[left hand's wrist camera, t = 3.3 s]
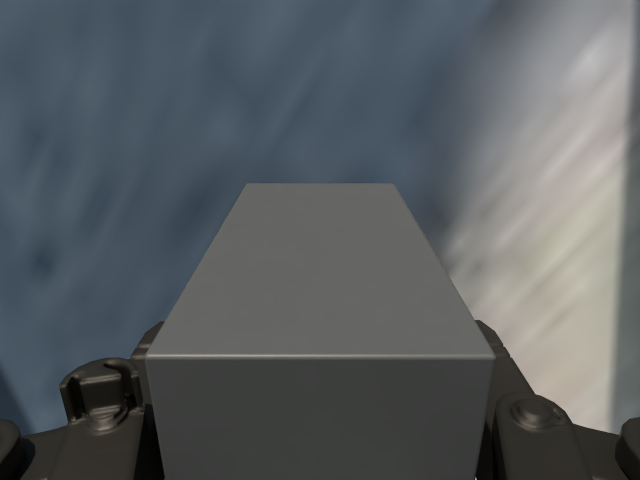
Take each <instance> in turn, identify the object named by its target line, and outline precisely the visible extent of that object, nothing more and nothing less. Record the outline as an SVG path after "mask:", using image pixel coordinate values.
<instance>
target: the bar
mask: <svg viewBox="0 0 640 480" xmlns="http://www.w3.org/2000/svg"><path fill="white" fill-rule="evenodd" d="M144 358H145V364H146V370H147V376H148V382H149V388H150V394H151V399H152V405H153V411H154V417H155V423H156V428H157V434H158V440H159V446H160V452H161V458H162V463H163V469H164V475H165V480H475V477H476V471H477V465H478V459H479V453H480V448H481V442H482V436H483V430H484V424H485V419H486V413H487V407H488V401H489V395H490V390H491V384H492V378H493V372H494V366H495V361H496V356H495V354H494V352H493V350H492V349H491V347H490V345H489V344H488V342H487V340H486V339H485V337H484V335H483V334H482V332H481V330H480V328H479V327H478V325H477V323H476V322H475V320H474V318H473V317H472V315H471V313H470V312H469V310H468V308H467V307H466V305H465V303H464V301H463V300H462V298H461V296H460V295H459V293H458V291H457V290H456V288H455V286H454V285H453V283H452V281H451V279H450V278H449V276H448V274H447V273H446V271H445V269H444V268H443V266H442V264H441V263H440V261H439V259H438V258H437V256H436V254H435V252H434V251H433V249H432V247H431V246H430V244H429V242H428V241H427V239H426V237H425V236H424V234H423V232H422V230H421V229H420V227H419V225H418V224H417V222H416V220H415V219H414V217H413V215H412V214H411V212H410V210H409V209H408V207H407V205H406V203H405V202H404V200H403V198H402V197H401V195H400V193H399V192H398V190H397V188H396V187H395V185H394V184H393V183H248V184H246V185H245V187H244V189H243V190H242V192H241V194H240V196H239V197H238V199H237V201H236V202H235V204H234V206H233V207H232V209H231V211H230V212H229V214H228V216H227V218H226V219H225V221H224V223H223V224H222V226H221V228H220V229H219V231H218V233H217V234H216V236H215V238H214V239H213V241H212V243H211V245H210V246H209V248H208V250H207V251H206V253H205V255H204V256H203V258H202V260H201V261H200V263H199V265H198V266H197V268H196V270H195V272H194V273H193V275H192V277H191V278H190V280H189V282H188V283H187V285H186V287H185V288H184V290H183V292H182V293H181V295H180V297H179V299H178V300H177V302H176V304H175V305H174V307H173V309H172V310H171V312H170V314H169V315H168V317H167V319H166V320H165V322H164V324H163V326H162V327H161V329H160V331H159V332H158V334H157V336H156V337H155V339H154V341H153V342H152V344H151V346H150V347H149V349H148V351H147V353H146V354H145V357H144Z"/></svg>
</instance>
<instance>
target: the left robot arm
mask: <svg viewBox="0 0 640 480" xmlns="http://www.w3.org/2000/svg"><path fill="white" fill-rule="evenodd" d="M475 322H476V323H477V325H478V327H479V328H480V330H481V332H482V334H483V335H484V337H485V339H486V340H487V342H488V344H489V345H490V347H491V349H492V350H493V352H494V354H495V356H496V361H495V366H494V372H493V378H492V384H491V390H490V395H489V401H488V407H487V413H486V419H485V424H484V430H483V436H482V442H481V448H480V453H479V459H478V465H477V471H476V479H477V480H640V417H639V418H633V419H629V420H628V421H627V422H625V423H624V424H623V425H622V428H621V431H620V435H616V434H612V433H608V432H603V431H599V430H595V429H590V428H586V427H583V426H579V425H576V424H573V423H572V421H571V420H570V418H569V417H568V415H567V414H566V412H565V411H564V410H563V409H562V408H560V407H559V406H558V405H557V404H555V403H554V402H552V401H550V400H548V399H546V398H544V397H542V396H540V395H536V394H535V393H534V391H533V390H532V388H531V387H530V385H529V384H528V382H527V381H526V379H525V377H524V376H523V374H522V373H521V371H520V370H519V368H518V367H517V365H516V363H515V362H514V360H513V359H512V358H510V354H509V353H508V351H507V349H506V348H505V347H503V343H502V342H501V340H500V338H499V337H498V335H497V334H496V332H495V331H494V330H492V329H491V328H490V327H488V326H487V325H486V324H484V323H483V322H482V321H480V320H475ZM163 324H164V322H159V323H158V324H157V325H155V326H154V327H153V328H151V329H150V330H149V331H147V332H146V333H145V335H144V336H143V338H142V339H141V341H140V342H139V344H138V346H137V348H136V349H135V350H134V352H133V353H132V355H131V358H130V359H129V360H127V359H123V358H104V359H100V360H95V361H91V362H89V363H87V364H85V365H82V366H80V367H78V368H76V369H75V370H74V371H72V372H71V373H69V374H68V375H67V376H66V377H65V378H64V379H63V381H62V382H61V383H60V385H59V388H60V392H61V396H62V399H63V403H64V407H65V411H66V415H67V418H68V425H67V426H64V427H61V428H57V429H54V430H49V431H45V432H41V433H36V434H32V435H28V436H23V437H21V433H20V430H19V427H18V426H17V425H16V424H15V423H13V422H12V421H9V420H3V419H0V480H164V479H165V475H164V469H163V463H162V458H161V452H160V446H159V440H158V434H157V428H156V423H155V417H154V411H153V405H152V399H151V394H150V388H149V382H148V376H147V370H146V364H145V358H144V357H145V354H146V353H147V351H148V349H149V347H150V346H151V344H152V342H153V341H154V339H155V337H156V336H157V334H158V332H159V331H160V329H161V327H162V326H163Z"/></svg>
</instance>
